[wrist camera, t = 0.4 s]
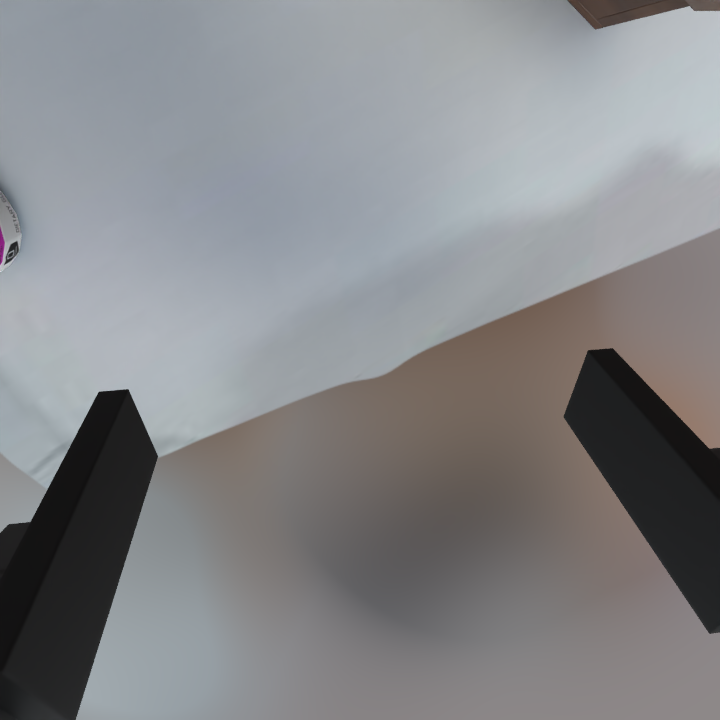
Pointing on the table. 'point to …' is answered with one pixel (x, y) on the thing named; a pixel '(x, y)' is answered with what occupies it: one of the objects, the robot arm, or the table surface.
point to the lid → (704, 5)
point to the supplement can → (8, 233)
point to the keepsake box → (622, 10)
